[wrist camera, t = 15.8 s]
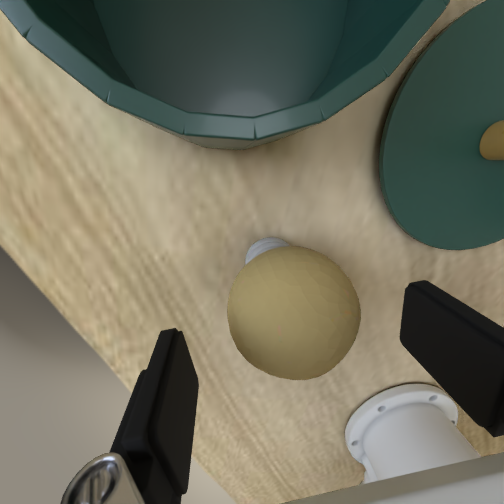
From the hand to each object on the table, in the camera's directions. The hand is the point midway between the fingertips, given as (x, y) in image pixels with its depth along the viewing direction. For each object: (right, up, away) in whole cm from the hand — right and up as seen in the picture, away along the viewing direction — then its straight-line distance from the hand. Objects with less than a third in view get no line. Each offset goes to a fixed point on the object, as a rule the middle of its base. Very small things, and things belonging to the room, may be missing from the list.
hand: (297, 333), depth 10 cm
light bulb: (-1, +3, +9) cm, 9 cm away
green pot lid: (+14, +11, +7) cm, 19 cm away
